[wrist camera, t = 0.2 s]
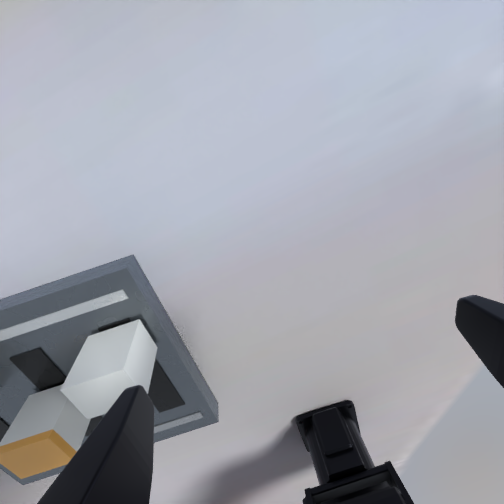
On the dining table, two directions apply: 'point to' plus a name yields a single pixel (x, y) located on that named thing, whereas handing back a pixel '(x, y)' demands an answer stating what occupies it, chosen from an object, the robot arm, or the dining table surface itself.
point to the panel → (75, 334)
